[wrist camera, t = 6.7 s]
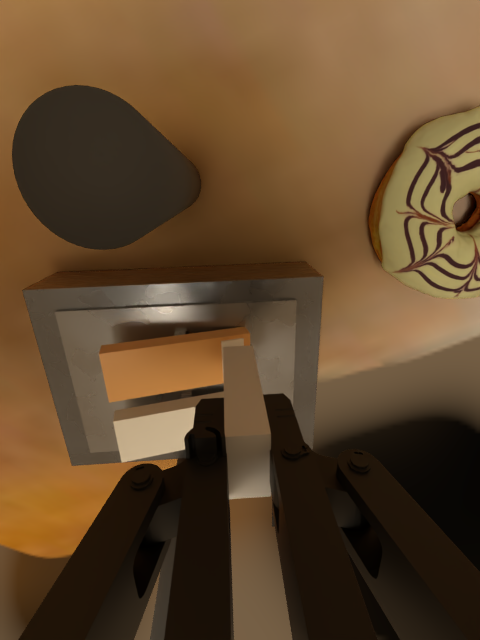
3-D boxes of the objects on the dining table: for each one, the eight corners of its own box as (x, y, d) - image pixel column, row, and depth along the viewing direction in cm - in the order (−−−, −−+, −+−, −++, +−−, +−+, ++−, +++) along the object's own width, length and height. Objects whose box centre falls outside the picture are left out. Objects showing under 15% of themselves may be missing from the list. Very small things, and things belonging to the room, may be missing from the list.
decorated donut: (376, 112, 19) (411, 94, 16) (552, 116, 20) (624, 100, 16) (352, 287, 23) (376, 304, 19) (501, 286, 24) (550, 303, 20)
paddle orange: (110, 392, 18) (108, 404, 17) (101, 345, 17) (98, 355, 16) (246, 369, 20) (251, 380, 19) (244, 326, 19) (250, 334, 18)
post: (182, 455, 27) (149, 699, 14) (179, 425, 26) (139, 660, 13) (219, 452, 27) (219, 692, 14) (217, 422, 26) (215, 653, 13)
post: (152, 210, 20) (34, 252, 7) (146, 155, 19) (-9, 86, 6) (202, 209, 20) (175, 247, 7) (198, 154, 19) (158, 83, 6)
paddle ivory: (122, 450, 19) (121, 464, 18) (114, 410, 18) (112, 423, 17) (247, 424, 21) (253, 436, 20) (246, 387, 20) (252, 397, 19)
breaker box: (93, 425, 26) (66, 476, 21) (56, 272, 21) (12, 295, 17) (301, 412, 26) (318, 458, 22) (308, 261, 22) (331, 280, 17)
